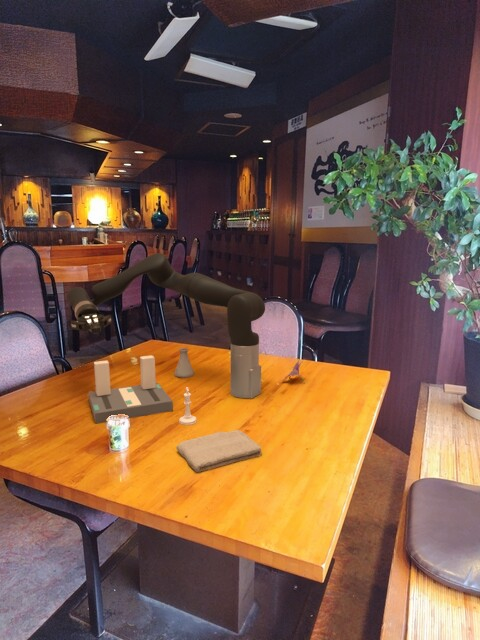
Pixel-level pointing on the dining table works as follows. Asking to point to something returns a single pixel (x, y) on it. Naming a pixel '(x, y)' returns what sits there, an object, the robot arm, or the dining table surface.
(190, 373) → the flask
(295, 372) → the lily
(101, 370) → the tab
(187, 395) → the chess piece
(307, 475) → the dining table surface
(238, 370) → the robot arm
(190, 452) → the washcloth
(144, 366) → the tab
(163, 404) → the switch bank
